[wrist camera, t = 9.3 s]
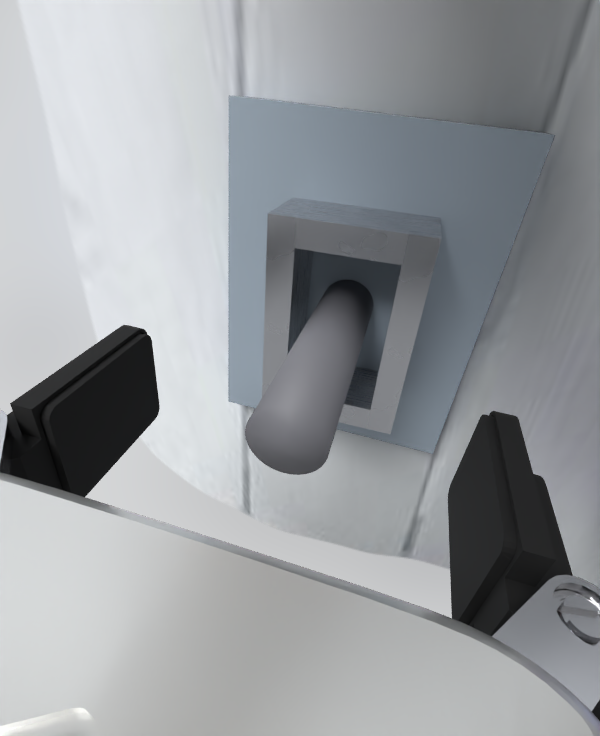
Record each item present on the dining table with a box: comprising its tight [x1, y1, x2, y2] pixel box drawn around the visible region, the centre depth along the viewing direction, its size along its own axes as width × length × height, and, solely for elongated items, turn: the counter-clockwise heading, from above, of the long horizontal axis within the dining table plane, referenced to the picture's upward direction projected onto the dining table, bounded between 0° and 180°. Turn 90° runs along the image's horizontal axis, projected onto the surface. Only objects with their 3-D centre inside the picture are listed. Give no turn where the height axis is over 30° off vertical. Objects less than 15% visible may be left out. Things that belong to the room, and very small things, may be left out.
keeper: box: [229, 96, 555, 475], centre depth 15 cm, size 14×11×10 cm
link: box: [262, 197, 442, 434], centre depth 17 cm, size 8×6×3 cm
